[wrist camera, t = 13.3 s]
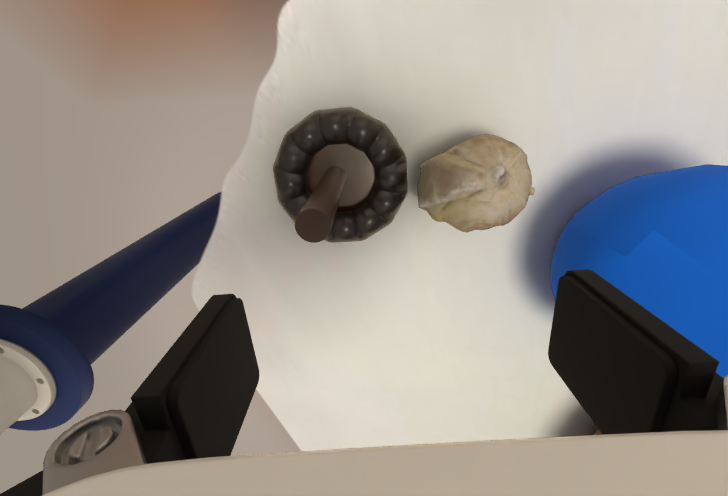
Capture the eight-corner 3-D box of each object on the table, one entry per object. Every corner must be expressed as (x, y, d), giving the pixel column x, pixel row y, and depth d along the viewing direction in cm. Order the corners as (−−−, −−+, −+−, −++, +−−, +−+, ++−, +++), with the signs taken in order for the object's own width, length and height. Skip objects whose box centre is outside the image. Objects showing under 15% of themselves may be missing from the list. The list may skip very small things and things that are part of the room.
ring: (289, 239, 35) (283, 250, 32) (268, 114, 30) (259, 115, 28) (407, 231, 34) (410, 242, 32) (403, 103, 30) (406, 103, 27)
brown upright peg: (300, 217, 35) (255, 293, 21) (288, 133, 32) (225, 157, 18) (381, 212, 35) (389, 285, 21) (376, 126, 32) (381, 145, 18)
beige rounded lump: (413, 184, 36) (381, 210, 27) (461, 105, 32) (442, 107, 23) (492, 236, 35) (485, 279, 26) (553, 162, 31) (569, 185, 22)
